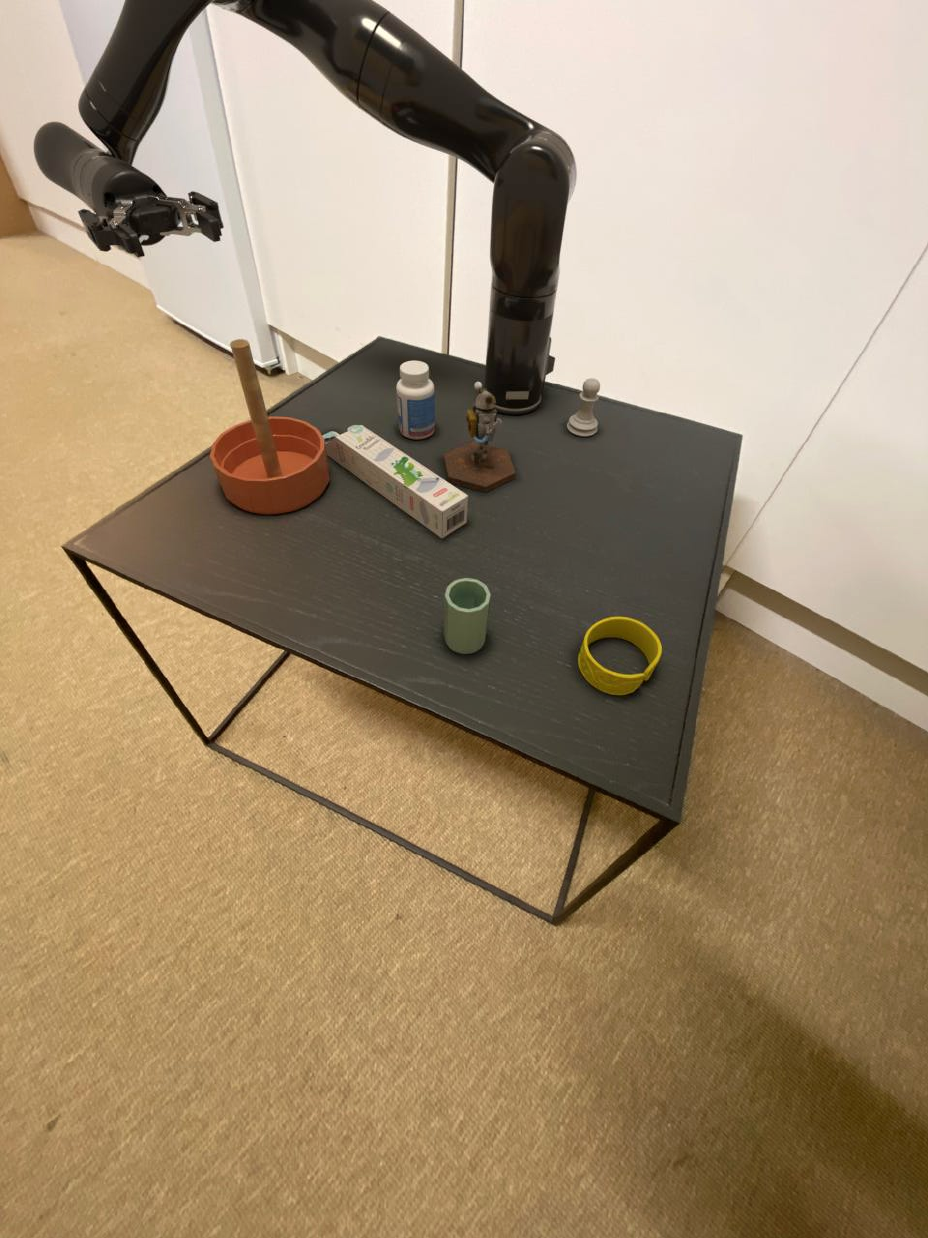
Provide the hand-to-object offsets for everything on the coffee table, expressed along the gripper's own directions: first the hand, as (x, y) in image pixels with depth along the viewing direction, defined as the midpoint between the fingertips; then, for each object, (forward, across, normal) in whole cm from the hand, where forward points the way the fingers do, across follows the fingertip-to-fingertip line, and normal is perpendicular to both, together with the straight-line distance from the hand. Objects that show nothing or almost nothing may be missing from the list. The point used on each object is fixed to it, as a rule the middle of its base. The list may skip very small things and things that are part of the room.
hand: (178, 238), depth 62 cm
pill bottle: (+12, +22, +26) cm, 36 cm away
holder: (+47, +3, +26) cm, 54 cm away
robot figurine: (+25, +24, +26) cm, 43 cm away
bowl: (+11, 0, +26) cm, 28 cm away
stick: (+11, 0, +25) cm, 27 cm away
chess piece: (+27, +43, +26) cm, 57 cm away
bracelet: (+59, +13, +26) cm, 66 cm away
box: (+19, +12, +26) cm, 34 cm away
